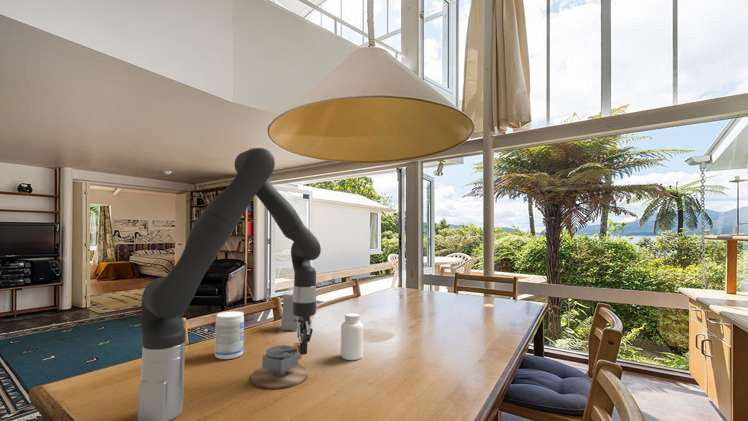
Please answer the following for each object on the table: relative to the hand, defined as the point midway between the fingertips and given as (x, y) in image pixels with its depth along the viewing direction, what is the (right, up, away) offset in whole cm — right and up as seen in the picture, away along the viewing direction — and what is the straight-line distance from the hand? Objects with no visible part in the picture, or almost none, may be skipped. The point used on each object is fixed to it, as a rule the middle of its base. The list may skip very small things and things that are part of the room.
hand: (303, 353), depth 117 cm
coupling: (-5, -2, -2) cm, 6 cm away
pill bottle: (+15, -7, +14) cm, 21 cm away
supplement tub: (-29, -6, +13) cm, 32 cm away
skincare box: (-14, -8, +48) cm, 50 cm away
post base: (-6, -5, -5) cm, 9 cm away
